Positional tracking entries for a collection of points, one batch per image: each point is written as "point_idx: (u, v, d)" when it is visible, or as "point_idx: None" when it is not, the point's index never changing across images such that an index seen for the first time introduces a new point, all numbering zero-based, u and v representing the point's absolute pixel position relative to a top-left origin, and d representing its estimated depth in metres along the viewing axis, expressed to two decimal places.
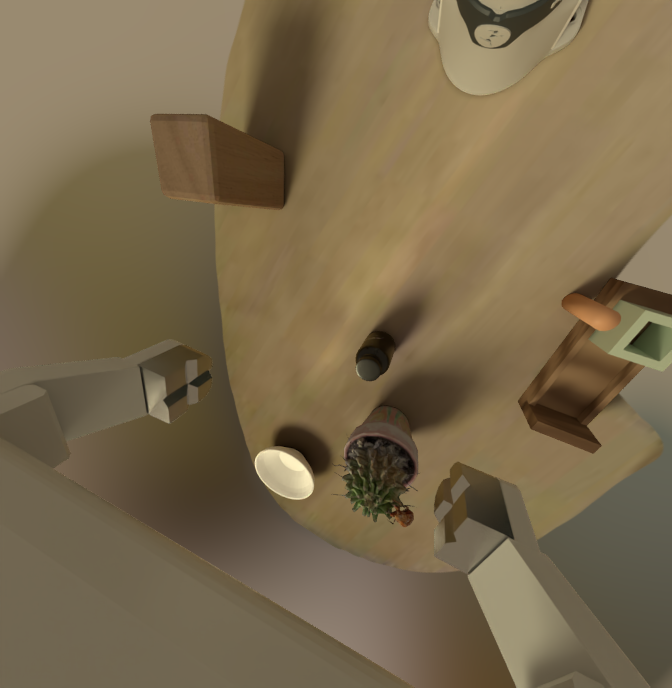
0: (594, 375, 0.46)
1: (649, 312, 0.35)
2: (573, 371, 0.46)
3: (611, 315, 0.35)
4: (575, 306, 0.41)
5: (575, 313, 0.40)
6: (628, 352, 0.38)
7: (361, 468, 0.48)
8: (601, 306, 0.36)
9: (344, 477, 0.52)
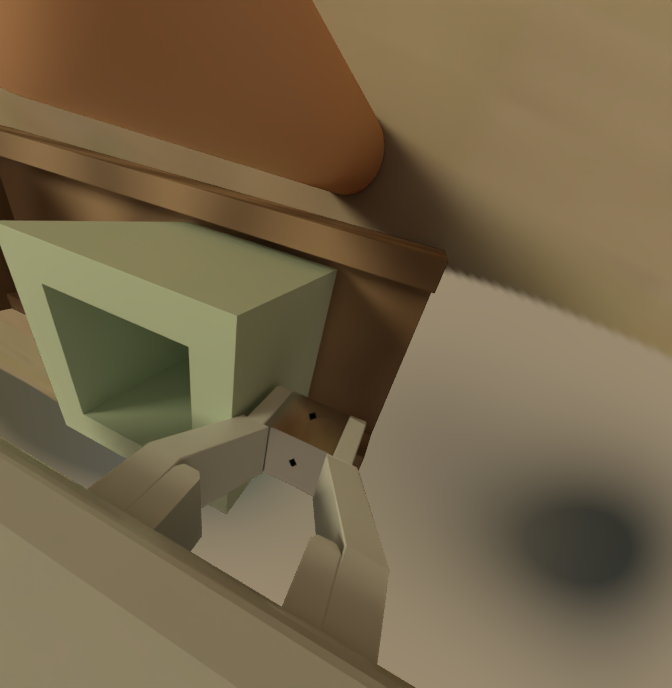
0: None
1: (229, 337, 0.05)
2: None
3: None
4: None
5: None
6: (48, 309, 0.07)
7: None
8: None
9: None
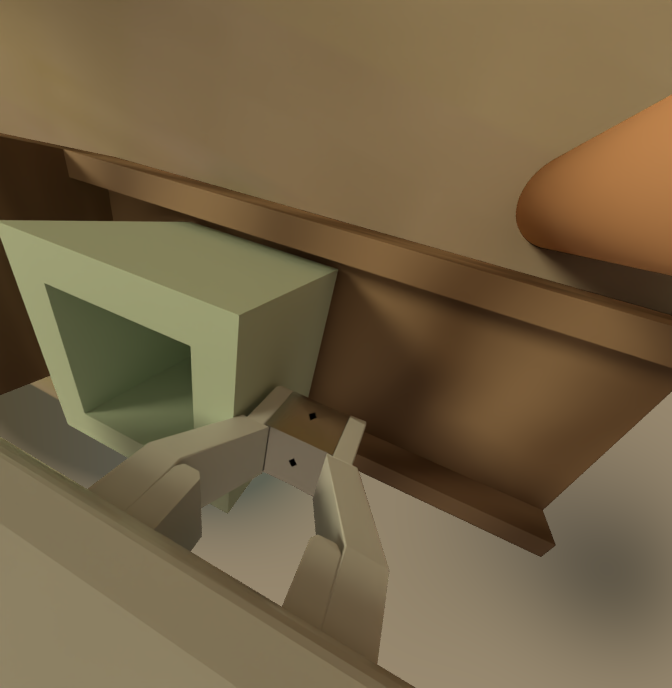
0: None
1: (231, 336, 0.05)
2: None
3: None
4: None
5: None
6: (50, 309, 0.07)
7: None
8: None
9: None
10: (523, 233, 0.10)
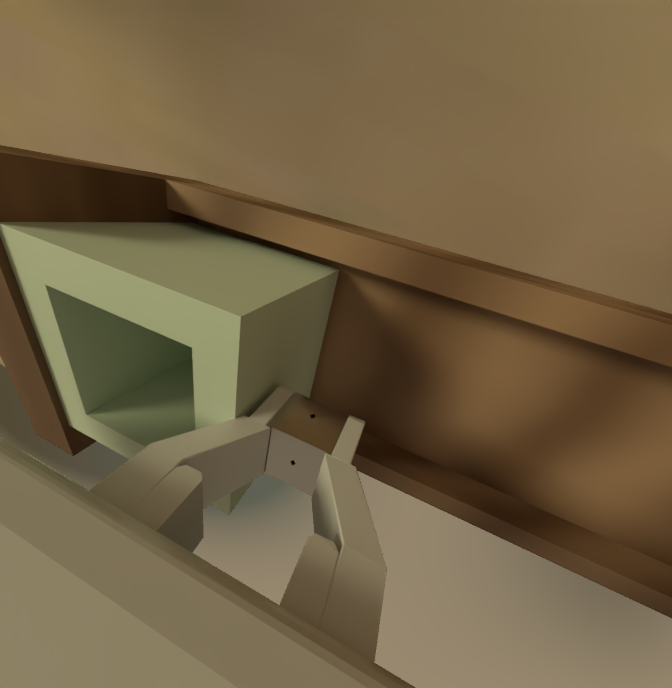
0: (353, 381, 0.12)
1: (232, 338, 0.05)
2: (360, 320, 0.11)
3: None
4: None
5: None
6: (51, 310, 0.07)
7: None
8: None
9: None
10: None
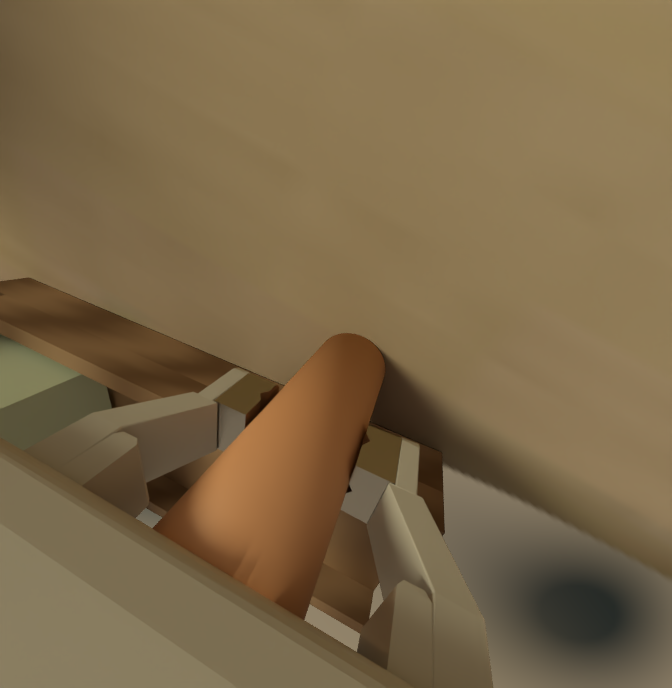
0: None
1: None
2: (132, 399, 0.14)
3: None
4: (316, 399, 0.07)
5: (272, 407, 0.07)
6: None
7: None
8: None
9: None
10: None
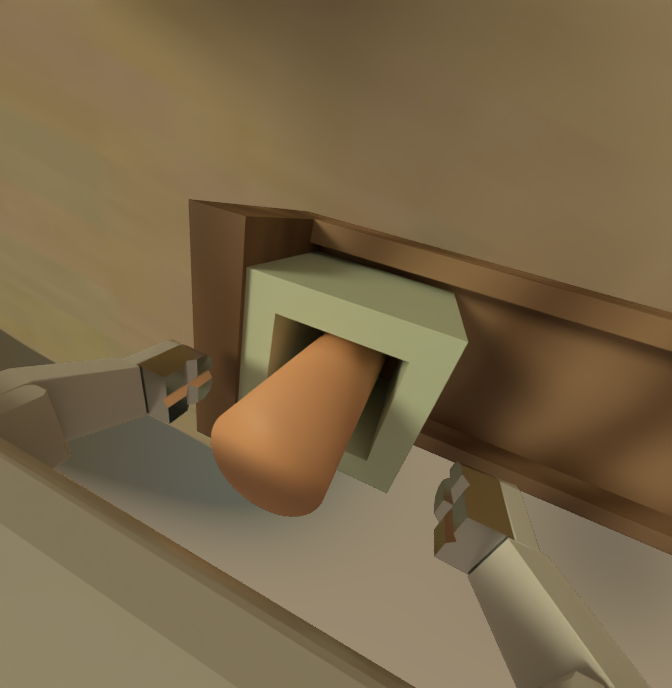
0: (448, 384, 0.14)
1: (453, 356, 0.07)
2: None
3: (294, 485, 0.06)
4: None
5: (322, 337, 0.10)
6: (269, 332, 0.09)
7: None
8: (349, 424, 0.07)
9: None
10: None
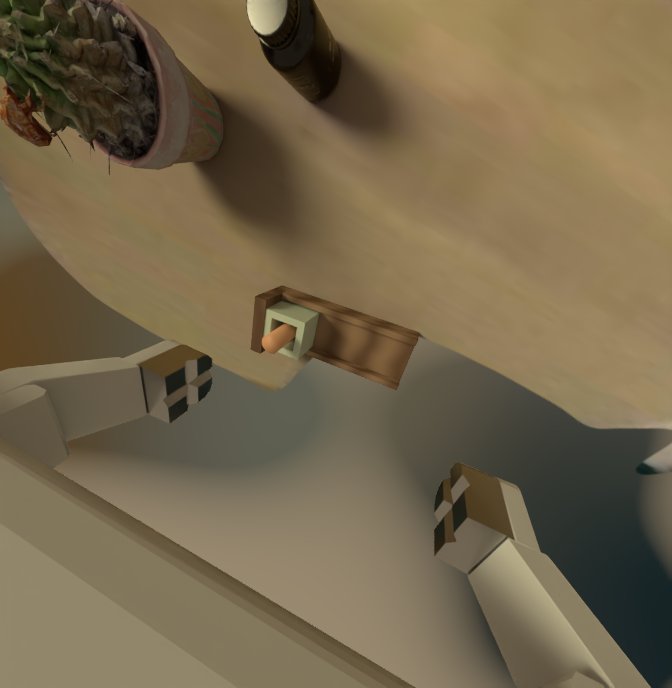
0: (324, 338, 0.48)
1: (303, 325, 0.41)
2: (325, 323, 0.47)
3: (274, 346, 0.40)
4: None
5: (282, 325, 0.44)
6: (270, 321, 0.43)
7: (61, 11, 0.23)
8: (284, 339, 0.41)
9: None
10: None
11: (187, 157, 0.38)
